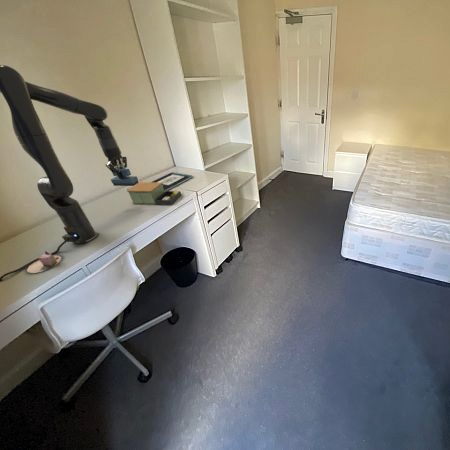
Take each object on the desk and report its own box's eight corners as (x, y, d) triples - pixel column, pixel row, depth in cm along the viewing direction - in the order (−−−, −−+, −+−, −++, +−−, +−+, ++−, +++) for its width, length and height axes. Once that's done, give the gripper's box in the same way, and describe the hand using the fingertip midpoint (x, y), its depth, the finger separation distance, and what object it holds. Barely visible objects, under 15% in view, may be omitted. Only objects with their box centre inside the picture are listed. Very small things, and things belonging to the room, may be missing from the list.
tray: (171, 204, 159) (169, 200, 157) (155, 204, 160) (154, 200, 158) (181, 195, 170) (180, 191, 168) (167, 195, 171) (165, 191, 169)
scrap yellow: (175, 194, 164) (173, 192, 164) (173, 197, 166) (170, 195, 165) (178, 191, 168) (176, 189, 167) (176, 195, 169) (173, 193, 168)
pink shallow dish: (68, 255, 119) (62, 248, 117) (45, 273, 109) (38, 266, 107) (44, 255, 120) (38, 247, 118) (19, 273, 110) (12, 265, 108)
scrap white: (161, 199, 160) (162, 202, 161) (166, 199, 159) (167, 202, 160) (165, 196, 163) (166, 199, 164) (170, 196, 163) (171, 199, 164)
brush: (139, 182, 148) (133, 167, 143) (133, 186, 143) (127, 171, 139) (119, 182, 149) (112, 167, 144) (113, 185, 145) (106, 171, 140)
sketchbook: (139, 189, 180) (138, 186, 179) (172, 173, 203) (172, 171, 202) (162, 193, 173) (161, 190, 172) (193, 177, 196) (193, 174, 195)
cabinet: (155, 204, 159) (150, 191, 154) (131, 204, 161) (126, 191, 156) (166, 195, 171) (162, 182, 165) (144, 194, 172) (139, 182, 167)
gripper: (112, 142, 141) (125, 172, 150) (93, 150, 129) (108, 182, 138) (125, 142, 140) (137, 172, 149) (106, 150, 128) (121, 182, 138)
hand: (123, 177), depth 144 cm, fingers closed on brush, 2 cm apart
